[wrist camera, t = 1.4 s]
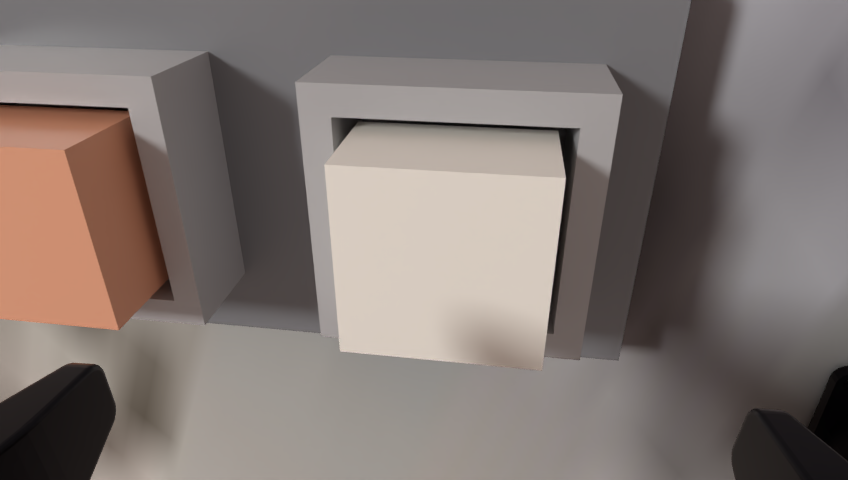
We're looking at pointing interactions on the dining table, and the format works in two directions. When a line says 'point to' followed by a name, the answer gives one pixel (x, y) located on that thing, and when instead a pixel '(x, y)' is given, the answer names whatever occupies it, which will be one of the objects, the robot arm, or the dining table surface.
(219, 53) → the key panel
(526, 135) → the key ivory
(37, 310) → the key terracotta
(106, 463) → the dining table surface
